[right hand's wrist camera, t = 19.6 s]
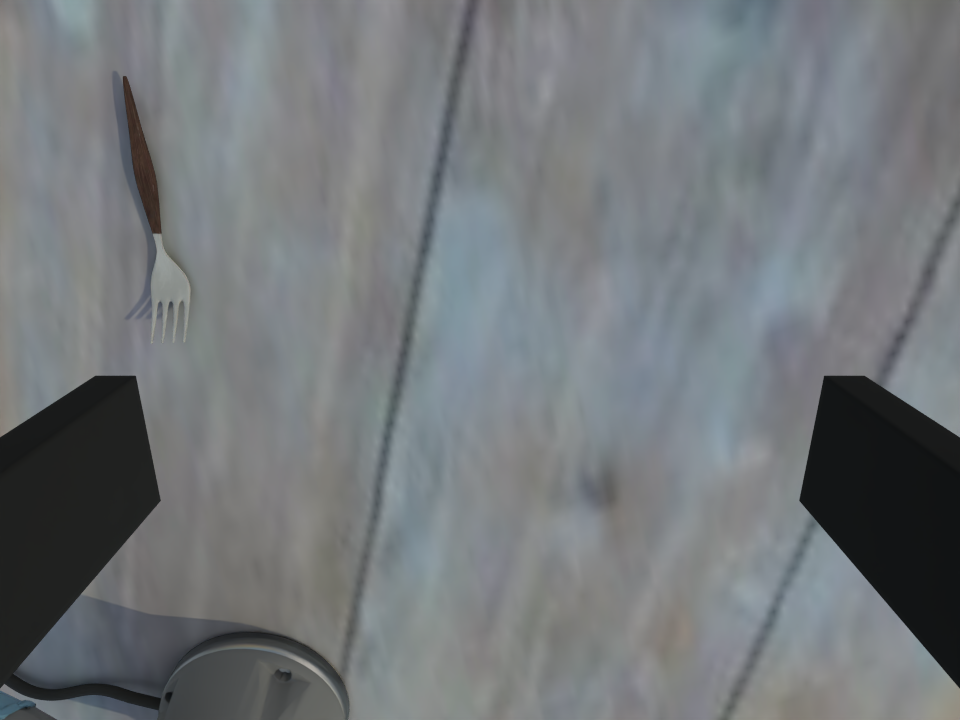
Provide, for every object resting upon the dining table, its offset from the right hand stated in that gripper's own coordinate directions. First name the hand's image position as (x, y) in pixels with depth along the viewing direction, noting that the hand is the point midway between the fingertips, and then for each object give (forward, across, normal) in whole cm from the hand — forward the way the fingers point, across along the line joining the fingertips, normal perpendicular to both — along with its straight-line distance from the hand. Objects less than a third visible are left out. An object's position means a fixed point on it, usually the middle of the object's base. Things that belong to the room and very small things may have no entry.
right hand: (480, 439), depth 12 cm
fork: (+30, +20, 0) cm, 36 cm away
